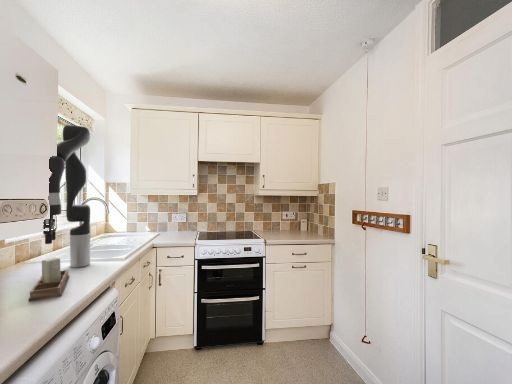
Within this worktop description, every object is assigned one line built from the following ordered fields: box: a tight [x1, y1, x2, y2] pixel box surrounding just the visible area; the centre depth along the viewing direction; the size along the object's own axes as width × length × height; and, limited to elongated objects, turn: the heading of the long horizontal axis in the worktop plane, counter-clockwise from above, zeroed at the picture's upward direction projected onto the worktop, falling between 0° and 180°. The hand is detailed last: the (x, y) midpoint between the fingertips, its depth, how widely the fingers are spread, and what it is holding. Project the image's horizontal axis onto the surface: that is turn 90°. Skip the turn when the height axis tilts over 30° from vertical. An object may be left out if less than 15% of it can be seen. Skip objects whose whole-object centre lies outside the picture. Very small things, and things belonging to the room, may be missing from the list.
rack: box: [28, 269, 70, 302], centre depth 113 cm, size 26×10×4 cm, turn 29°
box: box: [41, 257, 62, 283], centre depth 113 cm, size 5×4×11 cm
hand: (50, 241), depth 113 cm, fingers open, 8 cm apart
